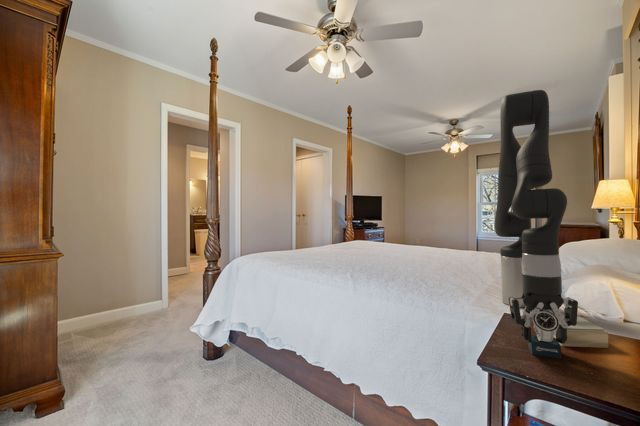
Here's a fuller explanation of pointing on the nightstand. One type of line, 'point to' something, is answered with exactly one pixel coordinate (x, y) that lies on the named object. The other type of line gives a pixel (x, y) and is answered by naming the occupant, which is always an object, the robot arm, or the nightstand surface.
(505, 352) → the nightstand surface
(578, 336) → the oak riser
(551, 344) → the watch
